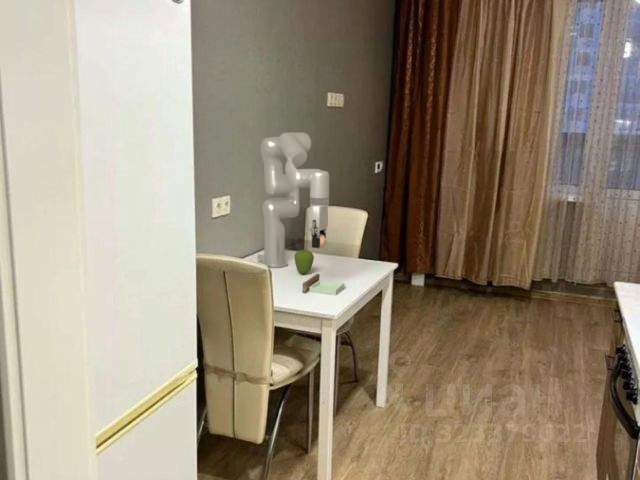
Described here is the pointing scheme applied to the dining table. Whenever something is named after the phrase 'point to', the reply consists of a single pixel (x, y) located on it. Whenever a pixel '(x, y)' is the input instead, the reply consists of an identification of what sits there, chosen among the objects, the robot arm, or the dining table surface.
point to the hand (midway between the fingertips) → (318, 245)
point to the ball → (322, 240)
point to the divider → (310, 283)
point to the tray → (326, 287)
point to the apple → (303, 261)
